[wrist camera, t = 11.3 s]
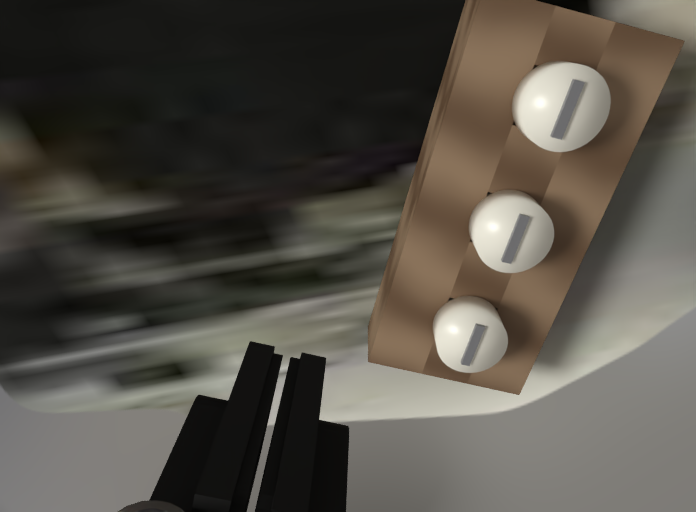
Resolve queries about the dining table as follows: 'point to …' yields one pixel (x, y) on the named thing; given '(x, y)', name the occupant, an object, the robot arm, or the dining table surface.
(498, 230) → the knob middle
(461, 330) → the knob far
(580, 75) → the knob near
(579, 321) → the dining table surface
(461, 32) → the knob mount
